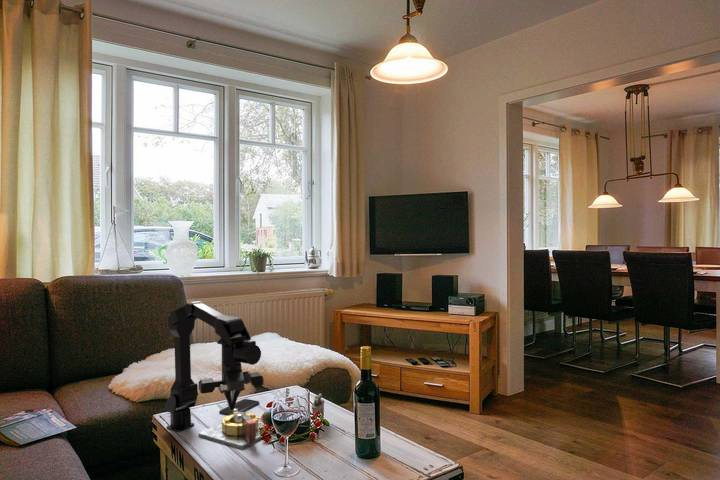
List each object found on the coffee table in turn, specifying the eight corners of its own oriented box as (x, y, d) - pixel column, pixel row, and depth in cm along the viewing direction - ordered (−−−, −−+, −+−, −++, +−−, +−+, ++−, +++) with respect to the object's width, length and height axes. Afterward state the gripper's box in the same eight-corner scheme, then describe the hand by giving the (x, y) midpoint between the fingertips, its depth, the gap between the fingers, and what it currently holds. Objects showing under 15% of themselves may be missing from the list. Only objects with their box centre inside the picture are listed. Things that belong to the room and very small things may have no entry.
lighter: (319, 430, 161) (319, 400, 161) (309, 429, 162) (309, 399, 162) (326, 421, 169) (326, 392, 169) (316, 420, 170) (316, 391, 170)
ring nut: (219, 426, 162) (218, 408, 162) (251, 419, 167) (251, 402, 167) (234, 447, 146) (234, 427, 146) (269, 439, 151) (269, 419, 151)
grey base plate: (198, 436, 157) (198, 417, 157) (238, 417, 172) (238, 401, 172) (242, 449, 147) (242, 429, 147) (280, 428, 163) (280, 410, 163)
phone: (260, 401, 187) (234, 414, 174) (260, 404, 187) (234, 417, 174) (244, 398, 191) (217, 411, 177) (244, 401, 191) (217, 414, 177)
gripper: (203, 370, 138) (204, 424, 138) (268, 362, 146) (268, 413, 146) (198, 360, 148) (198, 411, 148) (258, 353, 156) (259, 402, 156)
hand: (231, 410), depth 149 cm, fingers closed
